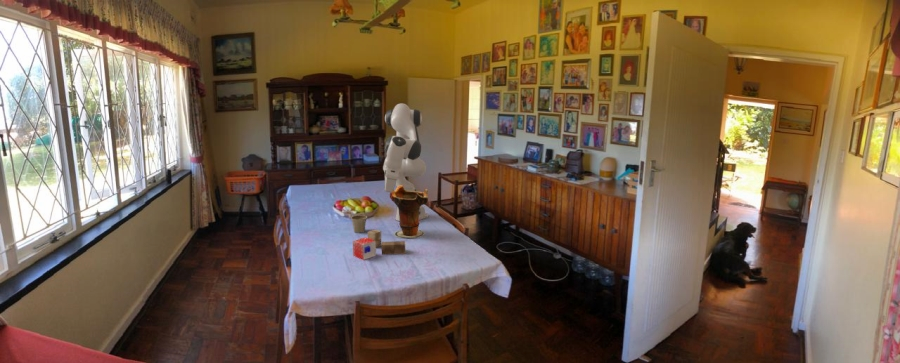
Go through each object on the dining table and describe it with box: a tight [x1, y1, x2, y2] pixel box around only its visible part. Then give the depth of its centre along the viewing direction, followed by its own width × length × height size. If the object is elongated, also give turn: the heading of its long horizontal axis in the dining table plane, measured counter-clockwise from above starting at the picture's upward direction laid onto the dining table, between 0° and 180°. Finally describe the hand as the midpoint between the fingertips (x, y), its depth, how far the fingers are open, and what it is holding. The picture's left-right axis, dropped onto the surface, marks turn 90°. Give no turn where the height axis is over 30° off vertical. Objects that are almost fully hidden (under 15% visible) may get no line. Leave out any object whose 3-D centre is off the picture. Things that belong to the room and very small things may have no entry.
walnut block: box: [381, 240, 407, 255], centre depth 221 cm, size 5×5×12 cm
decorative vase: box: [389, 185, 429, 239], centre depth 247 cm, size 21×23×28 cm
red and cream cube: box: [352, 236, 377, 261], centre depth 216 cm, size 8×8×8 cm
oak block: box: [367, 229, 382, 248], centre depth 230 cm, size 5×5×8 cm
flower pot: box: [350, 214, 368, 234], centre depth 253 cm, size 9×9×9 cm
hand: (386, 189), depth 226 cm, fingers closed
